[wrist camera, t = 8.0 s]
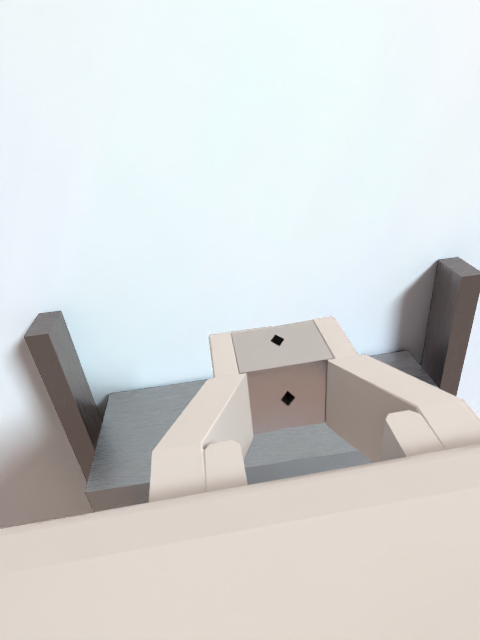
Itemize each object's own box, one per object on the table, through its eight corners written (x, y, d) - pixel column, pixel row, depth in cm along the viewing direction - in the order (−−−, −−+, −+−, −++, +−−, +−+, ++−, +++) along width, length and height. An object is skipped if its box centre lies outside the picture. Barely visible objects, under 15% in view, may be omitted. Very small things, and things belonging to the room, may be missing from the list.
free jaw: (109, 393, 21) (85, 492, 16) (408, 350, 22) (474, 432, 17) (131, 458, 24) (116, 562, 19) (398, 418, 25) (454, 507, 20)
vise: (39, 313, 19) (-17, 400, 14) (458, 257, 20) (552, 319, 15) (142, 572, 30) (132, 673, 25) (407, 528, 31) (450, 618, 26)
